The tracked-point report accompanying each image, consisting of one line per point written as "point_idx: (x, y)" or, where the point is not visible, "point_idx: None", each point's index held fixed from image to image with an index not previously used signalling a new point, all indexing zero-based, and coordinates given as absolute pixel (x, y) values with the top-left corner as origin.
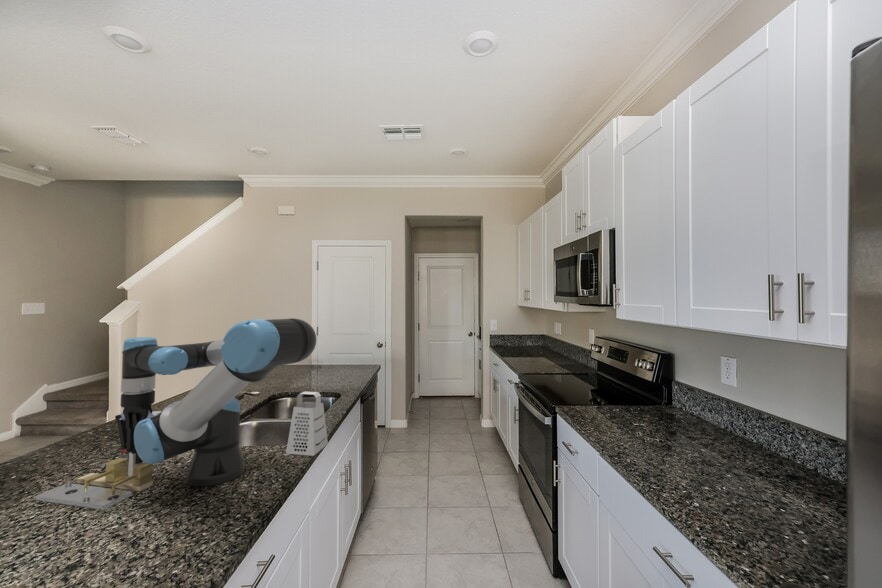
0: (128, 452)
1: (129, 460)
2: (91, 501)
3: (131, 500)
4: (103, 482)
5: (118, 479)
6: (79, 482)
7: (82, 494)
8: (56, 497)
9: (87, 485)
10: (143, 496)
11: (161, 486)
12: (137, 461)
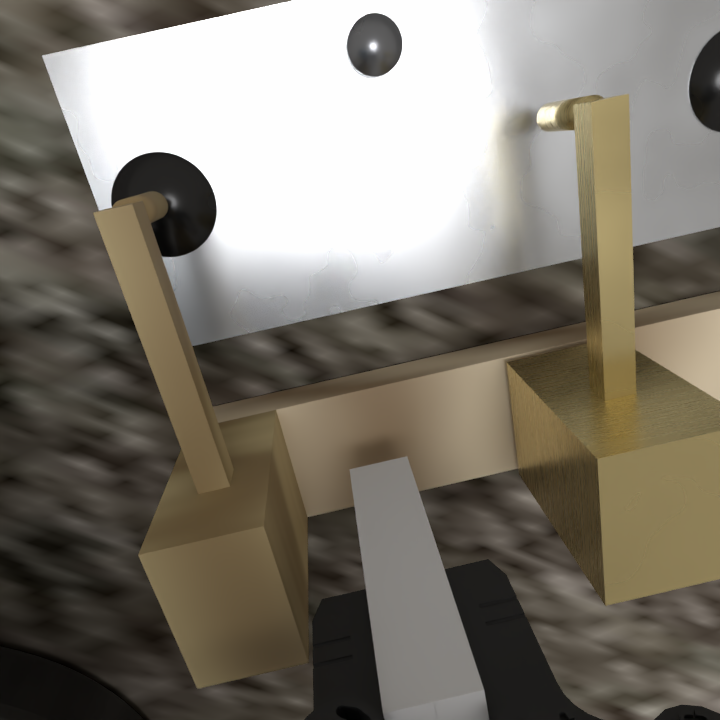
0: (550, 691)
1: (437, 587)
2: (282, 52)
3: (48, 292)
4: None
5: (514, 405)
6: None
7: (559, 100)
8: None
9: (563, 124)
10: (42, 378)
11: (123, 530)
12: (338, 623)
